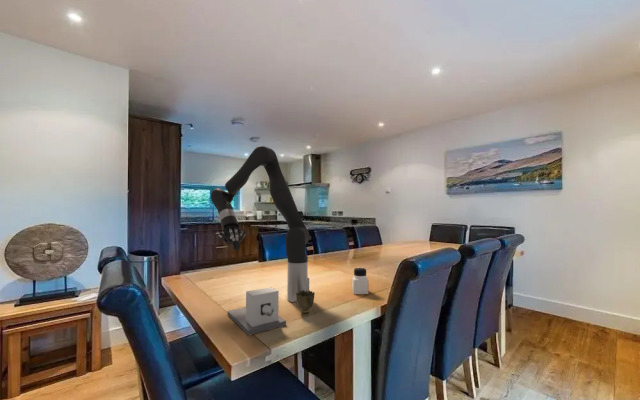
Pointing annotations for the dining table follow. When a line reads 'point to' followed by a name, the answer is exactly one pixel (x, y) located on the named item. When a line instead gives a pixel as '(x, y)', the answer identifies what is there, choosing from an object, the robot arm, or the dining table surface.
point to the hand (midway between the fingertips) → (237, 249)
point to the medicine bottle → (360, 281)
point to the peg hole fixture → (258, 312)
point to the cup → (305, 301)
